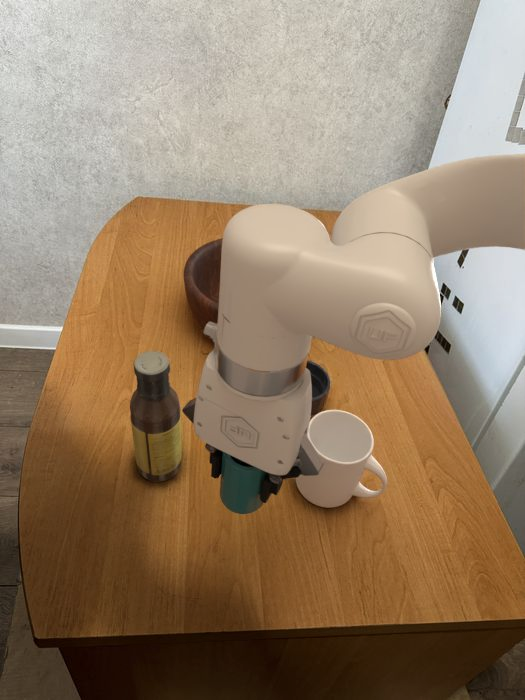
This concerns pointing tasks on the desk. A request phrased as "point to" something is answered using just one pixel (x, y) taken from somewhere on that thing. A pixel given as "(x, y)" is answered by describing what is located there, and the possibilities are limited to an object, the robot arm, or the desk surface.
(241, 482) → the cup
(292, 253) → the robot arm
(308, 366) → the bowl
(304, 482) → the mug
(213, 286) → the wooden bowl
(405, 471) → the desk surface
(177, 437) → the sauce bottle
